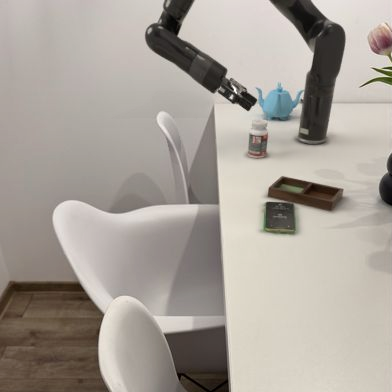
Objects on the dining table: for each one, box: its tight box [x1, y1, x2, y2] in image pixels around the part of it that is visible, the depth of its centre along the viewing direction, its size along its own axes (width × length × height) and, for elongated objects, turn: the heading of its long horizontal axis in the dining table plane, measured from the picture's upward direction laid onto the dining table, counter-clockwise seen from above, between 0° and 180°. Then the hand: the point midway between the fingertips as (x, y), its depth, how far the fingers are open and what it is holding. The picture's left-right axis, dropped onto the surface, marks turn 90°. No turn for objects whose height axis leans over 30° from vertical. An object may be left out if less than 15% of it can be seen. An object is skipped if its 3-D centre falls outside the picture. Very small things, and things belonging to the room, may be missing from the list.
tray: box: [267, 175, 345, 212], centre depth 127 cm, size 9×17×2 cm, turn 60°
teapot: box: [254, 81, 304, 121], centre depth 178 cm, size 13×13×10 cm
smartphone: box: [263, 201, 297, 234], centre depth 118 cm, size 8×1×15 cm
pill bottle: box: [247, 118, 269, 159], centre depth 148 cm, size 6×6×10 cm
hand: (253, 105), depth 142 cm, fingers open, 8 cm apart
